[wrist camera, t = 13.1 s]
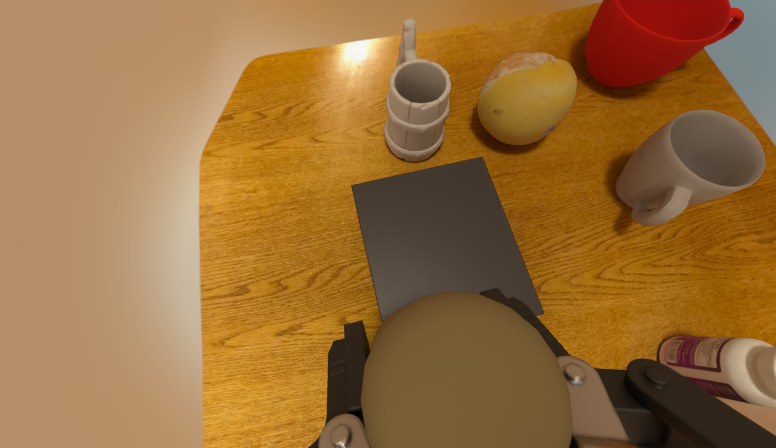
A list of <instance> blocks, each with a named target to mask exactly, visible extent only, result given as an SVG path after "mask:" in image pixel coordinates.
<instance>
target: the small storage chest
mask: <svg viewBox="0 0 776 448" xmlns="http://www.w3.org/2000/svg"><path fill="white" fill-rule="evenodd" d="M351 187H352V191H353V196H354V200H355V205H356V209H357V214H358V218H359V223H360V227H361V232H362V236H363V240H364V245H365V249H366V254H367V258H368V263H369V267H370V272H371V276H372V281H373V285H374V290H375V294H376V299H377V303H378V308H379V312H380V317H381V321H382V323H383V322H384V320H385V319H386V318H387V317H388V316H389V315H390V314H391V313H393V312H395V311H396V310H398V309H400V308H401V307H403V306H407V305H410V304H411V303H413V302H414V301H416V300H418V299H419V298H421V297H424V296H429V295H433V294H438V293H442V292H447V291H456V292H466V293H476V294H479V293H480V292H482V291H486V290H490V289H494V288H499V289H500V290H501V292H502V293H503V294H504V295H505V297H506V298H507V299H508V298H512V297H515V298H516V299H518V300H520V301H521V302H523V303H525V304H526V305H527V306H528V307H529V309H530V310H531V311H532V312H533V313H534V315H535V316H539V315H543V314H544V311H543V309H542V306H541V304H540V301H539V299H538V296H537V293H536V291H535V288H534V286H533V283H532V281H531V278H530V276H529V273H528V271H527V268H526V266H525V263H524V261H523V258H522V256H521V253H520V250H519V248H518V245H517V243H516V240H515V238H514V235H513V233H512V230H511V228H510V225H509V223H508V220H507V218H506V215H505V213H504V210H503V208H502V205H501V202H500V200H499V197H498V195H497V192H496V190H495V187H494V185H493V182H492V180H491V177H490V175H489V172H488V170H487V167H486V165H485V162H484V159H483V157H479V158H474V159H470V160H465V161H460V162H456V163H451V164H447V165H442V166H438V167H433V168H428V169H424V170H419V171H415V172H410V173H405V174H401V175H396V176H392V177H387V178H382V179H378V180H373V181H369V182H364V183H359V184H355V185H351Z"/></svg>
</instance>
